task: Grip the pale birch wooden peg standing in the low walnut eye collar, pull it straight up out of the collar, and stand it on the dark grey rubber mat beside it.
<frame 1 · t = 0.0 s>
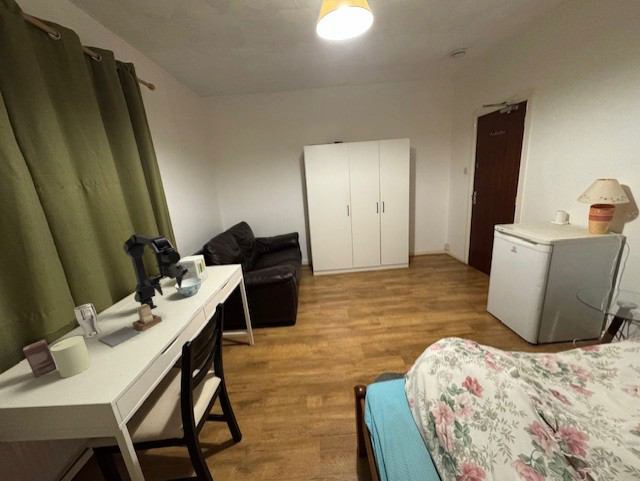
hand: (171, 291, 128), 15 cm above the table, tool pointing down, fingers open, 9 cm apart
box: (46, 371, 99), on the table
rubber mat: (120, 336, 119), on the table
supplement box: (195, 281, 181), on the table
eye collar: (148, 324, 127), on the table
beer glass: (93, 335, 123), on the table
peg: (145, 315, 126), in the eye collar
chinaware: (191, 294, 160), on the table
can: (77, 369, 99), on the table
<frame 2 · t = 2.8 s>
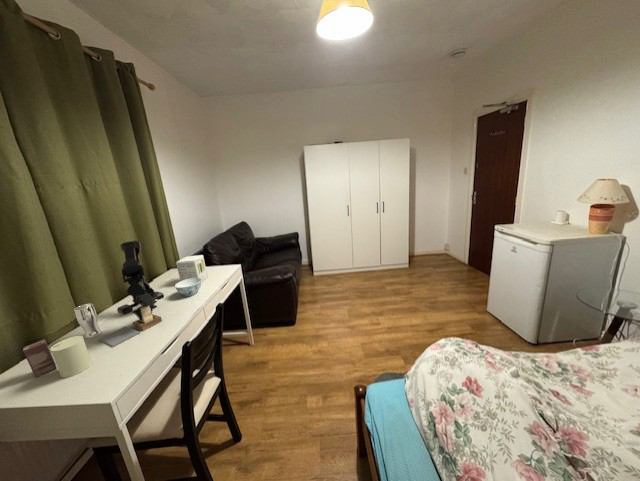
hand: (146, 318, 127), 4 cm above the table, tool pointing down, fingers closed on peg, 4 cm apart
peg: (145, 315, 126), in the eye collar, touching gripper
everything else where it was.
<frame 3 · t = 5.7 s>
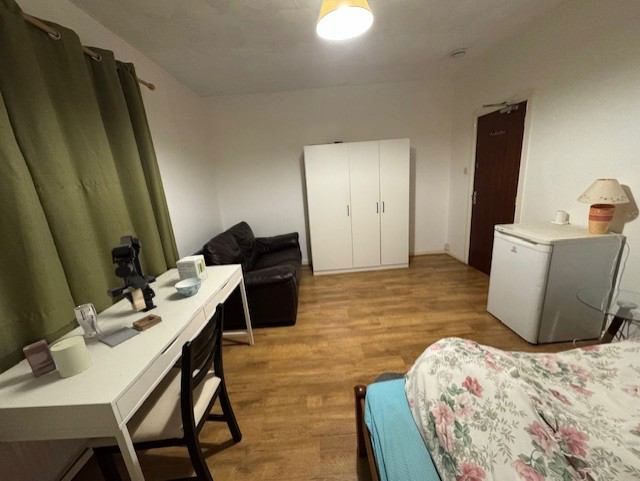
hand: (137, 302, 123), 13 cm above the table, tool pointing down, fingers closed on peg, 4 cm apart
peg: (136, 299, 123), point 14 cm above the table, touching gripper
everything else where it was.
when the fingers open (5 cm above the table, at t = 8.6 s): peg stays where it is, resting on rubber mat.
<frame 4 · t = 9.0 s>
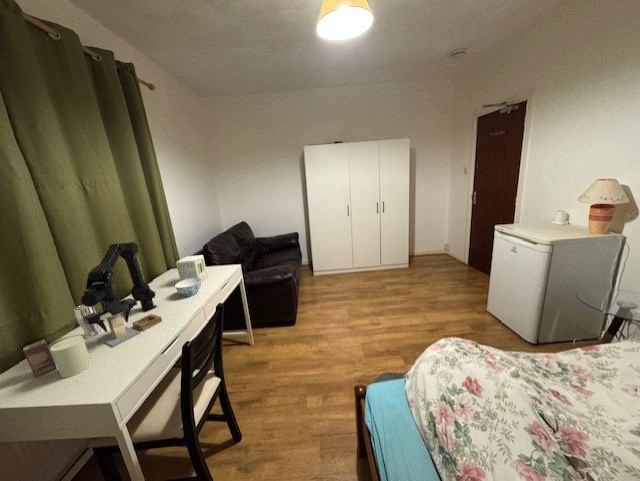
hand: (117, 327, 118), 5 cm above the table, tool pointing down, fingers open, 8 cm apart
peg: (116, 325, 117), on the rubber mat, point 6 cm above the table
everything else where it was.
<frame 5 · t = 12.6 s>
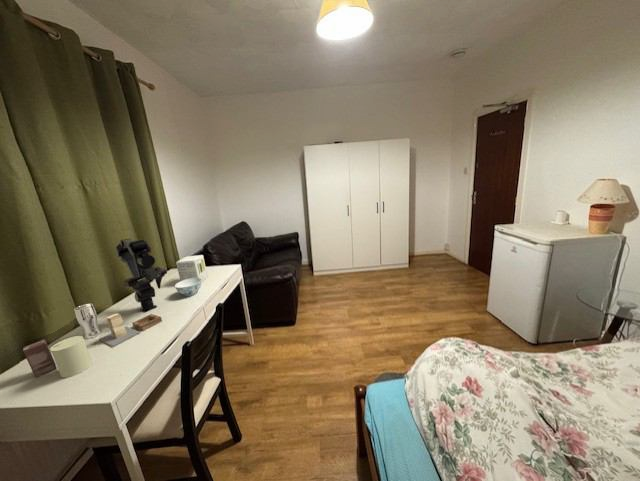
hand: (150, 291, 134), 13 cm above the table, tool pointing down, fingers open, 9 cm apart
nothing on the table moved.
at the end: peg inside the target area (0.2 cm from its centre), point 5.6 cm above the table; peg tilted 0°; the gripper is holding nothing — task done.
